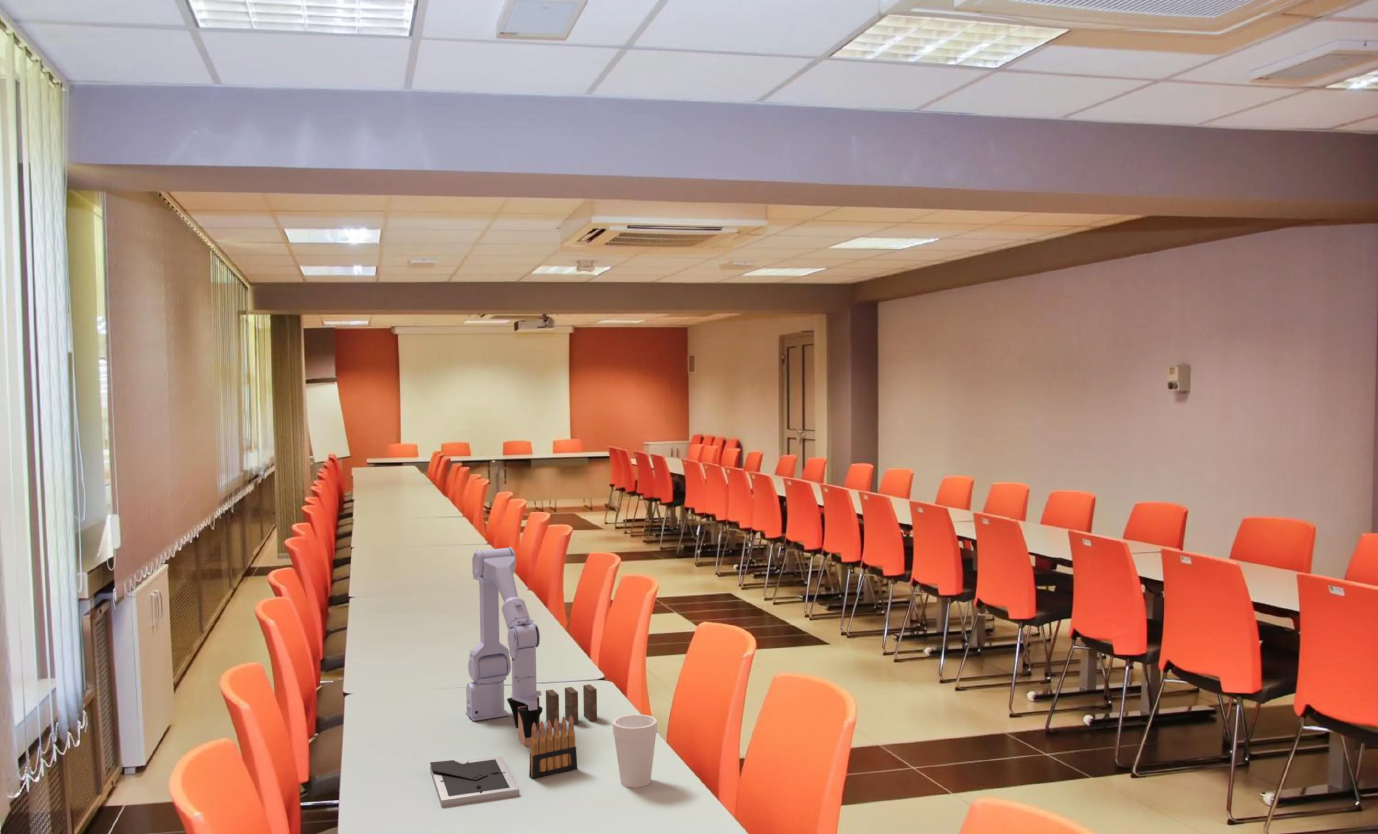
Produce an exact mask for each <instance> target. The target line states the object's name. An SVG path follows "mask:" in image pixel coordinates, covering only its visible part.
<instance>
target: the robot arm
mask: <svg viewBox="0 0 1378 834" xmlns="http://www.w3.org/2000/svg"><path fill="white" fill-rule="evenodd" d="M471 558H472V559H471V560H472V561H471V563H472V566H471V567H472V578H473V580H476V581H478V584H479V588H478V589H479V629H480V630H479V634H480V641H479V643H477V644H476V645H475V646H474V647H473V648H472V649H471V650H470V651H469V658H468V664H467V668H468V674H469V675H468V676H469V677H470V679H471V680H472V682H468V683H467V684H466V686H465V688H466V690H465V694H466V695H465V696H466V699H465V703H466V711H465V713H466V714H467V716H468V717H469V718H470V720H471V721H473V722H474V721H482V720H483V721H484V720H487V719H488V720H489V719H495V718H502V717H508V716H510V713H509V712H508V711H507V710H506V709H505V680H506V681H507V677H508V676H509V675H510V673H511V695H510V696H511V697H508V698H507V699H506V701H507V703H508V704H509V707H510V710H511V713H512V716H513V721H514V726H515V729H518V712H519V714H520V717H521V720H522V724H523V731H524V736H525V738H530V737H531V736H532V726H533V723H534V722H535V724H536V726H537V722H538V719H539V716H540V717H541V714H542V712H543V707H542V706H540V705H539V707H537V696H538V697H540V696H542V691H540V690H537V648H538V647H539V646H540V642H541V636H540V635H541V634H540V629H539V625H538V624H537V623H535V621H534V620H533V619H531V617H530V615H529V611H528V608H527V606H526V602H525V600H524V599H522V598H520V597H519V595H518V590H517V586H516V583H515V578H514V574H515V570H516V567H517V555H516V552H515V549H513V547H511V546H510V547H508V546H507V547H503V548H492V549H491V548H490V549H477V550H475V552H474V553H473V555H472V557H471ZM499 594H500V596H501V599H502V601H503V604H502V606H501V612H502V614H503V618H504V621H505V624H506V627H507V630H508V631H507V635H506V637H507V645H508V646H506V645H505V644H503V643H502V642H500V604H499V603H500V601H499V599H500V598H499V597H500V596H499ZM510 658H511V659H510ZM520 706H526V708H525V707H524V708H518V707H520Z"/></svg>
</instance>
